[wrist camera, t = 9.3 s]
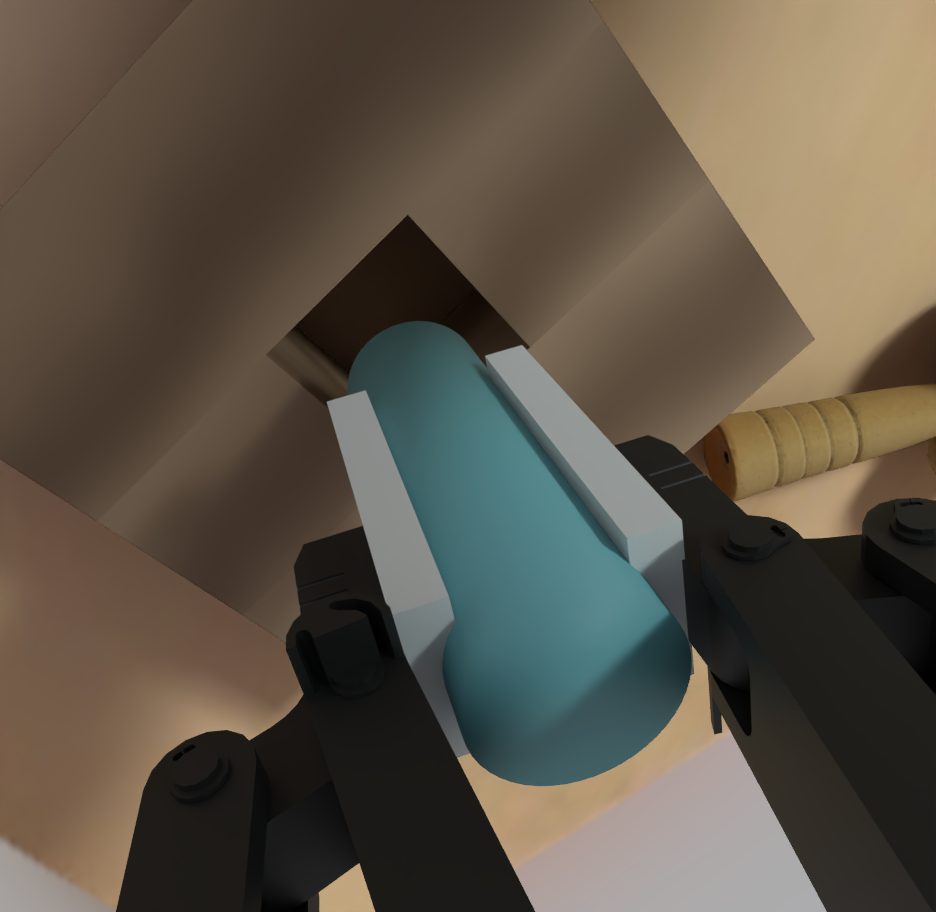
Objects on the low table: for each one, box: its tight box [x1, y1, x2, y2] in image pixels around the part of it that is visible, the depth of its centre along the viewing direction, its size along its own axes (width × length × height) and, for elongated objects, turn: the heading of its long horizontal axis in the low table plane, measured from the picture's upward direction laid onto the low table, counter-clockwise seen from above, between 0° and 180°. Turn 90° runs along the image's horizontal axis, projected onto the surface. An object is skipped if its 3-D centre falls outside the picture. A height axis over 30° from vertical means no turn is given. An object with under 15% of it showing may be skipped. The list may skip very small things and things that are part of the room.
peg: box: [347, 321, 692, 786], centre depth 15 cm, size 3×3×10 cm
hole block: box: [0, 0, 814, 643], centre depth 23 cm, size 16×16×5 cm
